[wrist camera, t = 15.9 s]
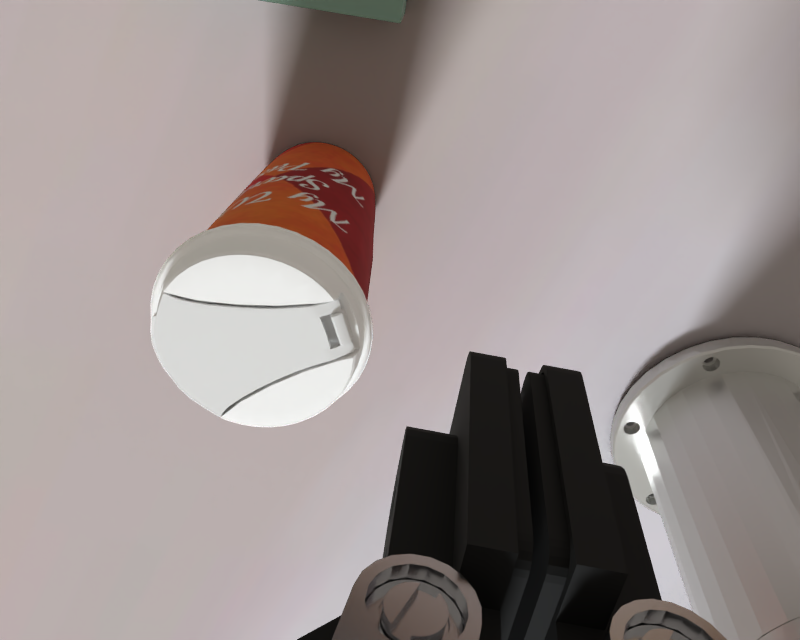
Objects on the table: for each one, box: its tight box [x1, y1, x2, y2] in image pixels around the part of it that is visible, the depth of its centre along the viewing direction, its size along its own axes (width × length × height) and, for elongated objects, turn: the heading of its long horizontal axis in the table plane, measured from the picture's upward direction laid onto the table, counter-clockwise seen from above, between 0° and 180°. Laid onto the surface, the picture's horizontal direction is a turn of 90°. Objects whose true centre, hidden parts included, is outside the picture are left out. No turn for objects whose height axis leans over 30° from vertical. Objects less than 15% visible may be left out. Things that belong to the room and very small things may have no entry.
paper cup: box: [150, 142, 375, 427], centre depth 30 cm, size 8×8×14 cm
